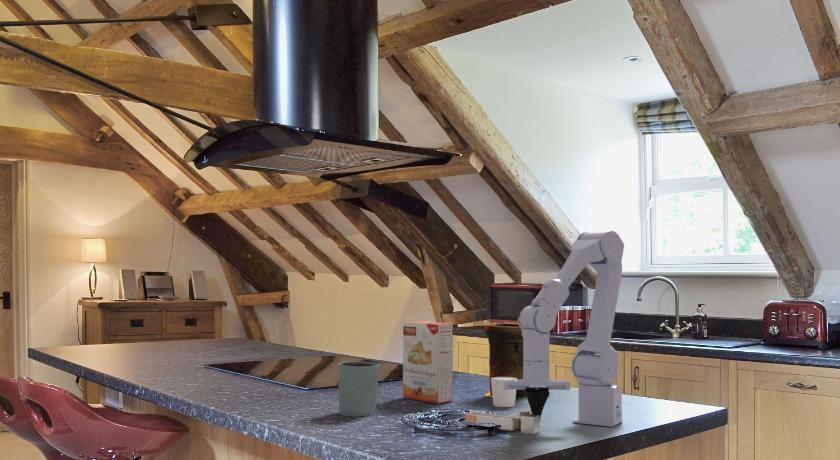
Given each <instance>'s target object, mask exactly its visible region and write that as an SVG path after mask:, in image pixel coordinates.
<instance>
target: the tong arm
mask: <svg viewBox="0 0 840 460" xmlns="http://www.w3.org/2000/svg"><path fill="white" fill-rule="evenodd" d="M469 414H477V415H485V416H493V417H502V418H511V417H510V416H506V415H502V414H501V415H500V414H490V413H485V412H484V413H483V412H475V411H472V412H470V413H469ZM511 419H514V430H518V429H520V428H519V418H511Z"/></svg>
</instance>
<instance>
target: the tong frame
mask: <svg viewBox="0 0 840 460" xmlns="http://www.w3.org/2000/svg"><path fill="white" fill-rule="evenodd" d="M509 415H510V417H511V418H519V419H521V428H520V433H521V434H528V435H535V434H538V433H540V432H541V419H540V415H535V414H532V413H530V414H528V413H527V412H521V411H520V412H515V413H512V414H509ZM511 418H502V417H493V416H485V415H477V414H470V413H466V414H464V422H465V421H466V422H473V423H494V424H500V425H501V428H500V429H499V430H502V431H512V432H513V431H515V429H514V419H511Z"/></svg>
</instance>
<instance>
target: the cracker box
mask: <svg viewBox="0 0 840 460" xmlns="http://www.w3.org/2000/svg"><path fill="white" fill-rule="evenodd" d="M402 324H403V326H402V328H403V329H402V330H403V331H402V334H403V335H402V336H403V337H402V338H403V339H402V340H403V343H402V344H403V345H402V347H403V348H402V352H403V353H402V397H403V398H406V399H410V400H411V399H412V400H417V401H423V402H428V403H432V404H439V405H440V404H445V403H449V402H450V403H451V402H453V391H454V390H453V385H454V383H453V380H454V379H453V373H454V372H453V370H454V369H453V367H454V365H453V363H454V362H453V357H454V354H453V353H454V352H453V351H454V350H453V349H454V347H453V346H454V345H453V343H454V342H453V341H454V338H453V336H454V332H453V331H454V330H453V329H454V325H453V323H447V322H438V321H437V322H436V321H425V320H407V321H406V320H405V321H403V323H402Z"/></svg>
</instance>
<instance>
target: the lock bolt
mask: <svg viewBox="0 0 840 460" xmlns="http://www.w3.org/2000/svg"><path fill="white" fill-rule="evenodd" d="M520 412H527V413H528V414H531V410H521V411H520ZM510 415H511V414H507V415H505V416H510ZM519 429H521V419H519Z"/></svg>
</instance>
